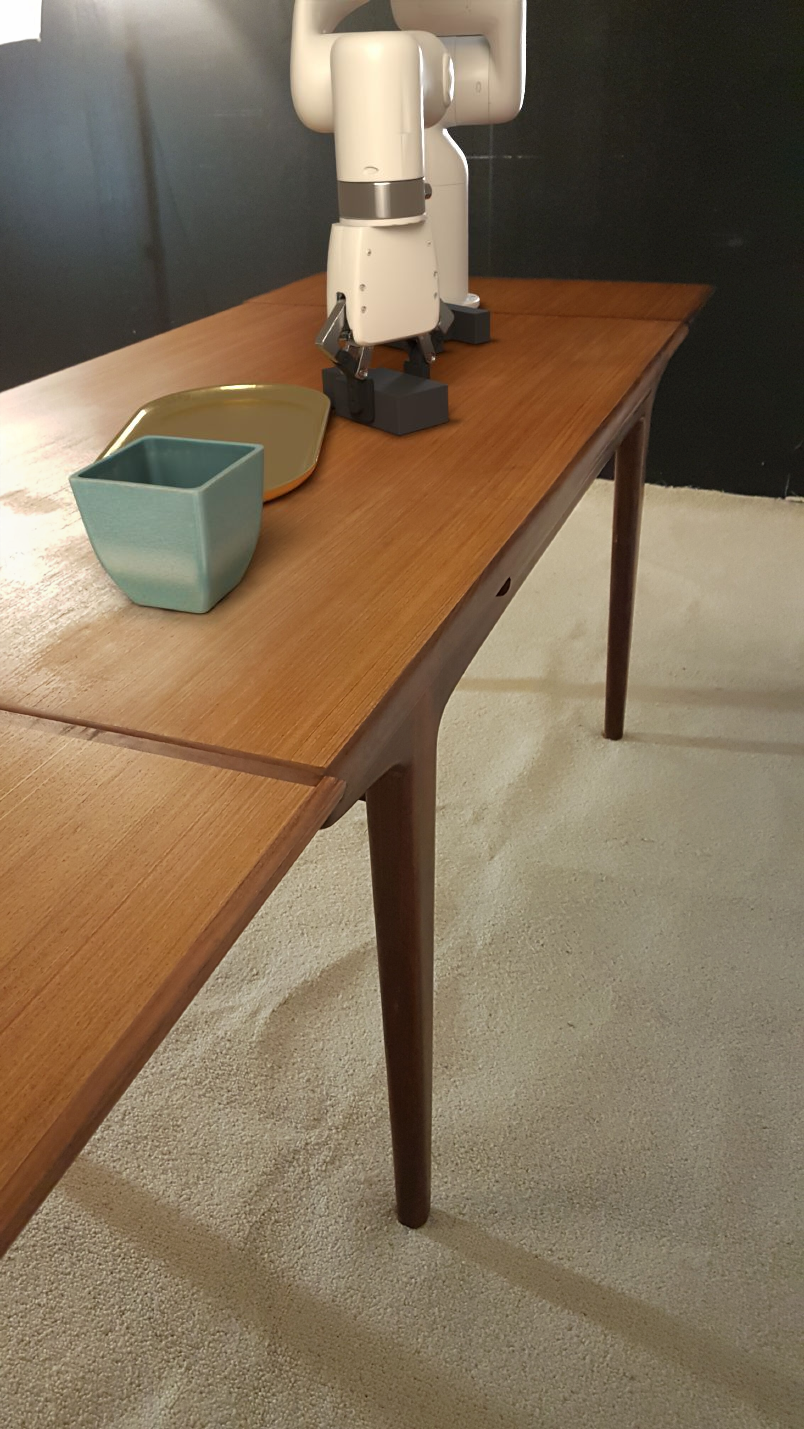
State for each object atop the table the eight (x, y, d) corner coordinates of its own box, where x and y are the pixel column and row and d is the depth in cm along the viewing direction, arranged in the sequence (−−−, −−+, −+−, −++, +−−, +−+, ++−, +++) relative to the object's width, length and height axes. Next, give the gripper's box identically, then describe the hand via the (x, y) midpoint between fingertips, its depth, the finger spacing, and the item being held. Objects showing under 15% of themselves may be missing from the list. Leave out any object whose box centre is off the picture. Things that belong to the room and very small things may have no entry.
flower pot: (281, 574, 68) (267, 441, 63) (219, 634, 61) (198, 490, 56) (166, 561, 71) (144, 432, 66) (94, 617, 64) (63, 477, 59)
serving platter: (60, 526, 77) (55, 506, 76) (159, 401, 107) (157, 385, 106) (308, 519, 76) (306, 499, 76) (338, 395, 106) (337, 379, 105)
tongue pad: (314, 407, 103) (311, 371, 101) (361, 395, 106) (359, 360, 104) (399, 435, 94) (397, 397, 92) (448, 422, 97) (448, 384, 95)
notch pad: (375, 342, 126) (373, 312, 125) (436, 329, 132) (436, 300, 130) (427, 355, 120) (426, 324, 118) (490, 341, 125) (490, 310, 123)
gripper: (429, 191, 96) (433, 387, 105) (274, 210, 87) (294, 422, 96) (484, 195, 91) (483, 401, 100) (325, 216, 82) (341, 439, 91)
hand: (390, 409), depth 98 cm, fingers closed on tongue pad, 6 cm apart
